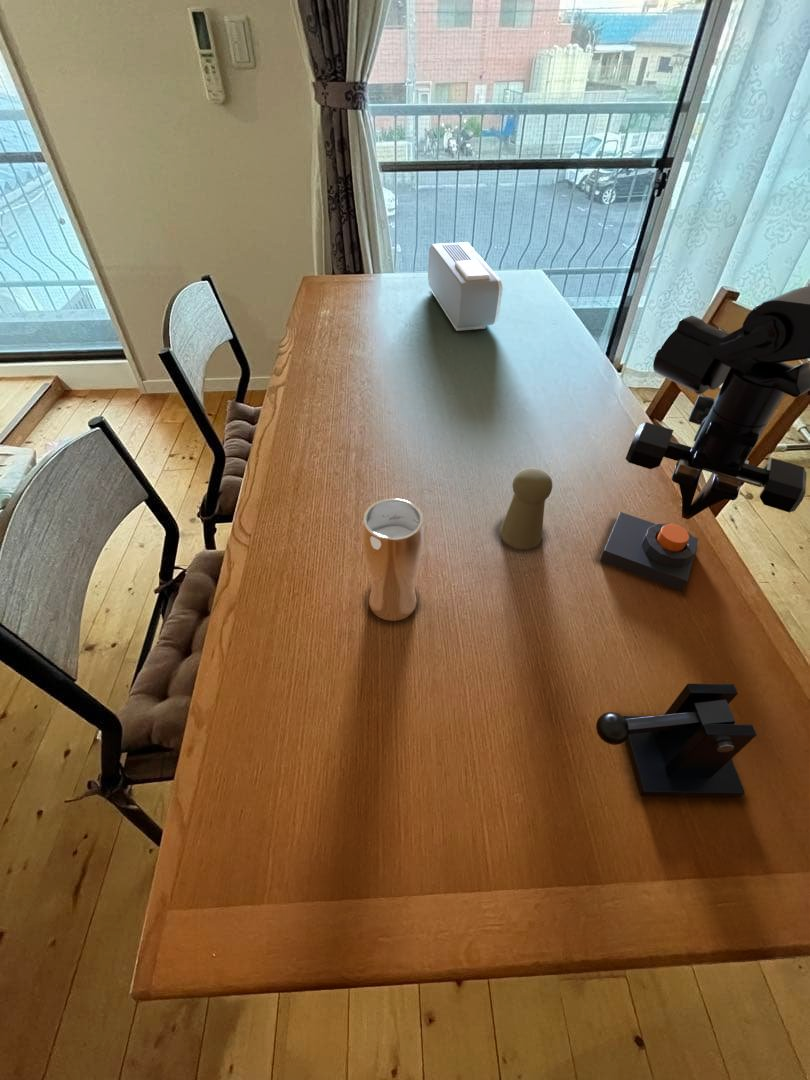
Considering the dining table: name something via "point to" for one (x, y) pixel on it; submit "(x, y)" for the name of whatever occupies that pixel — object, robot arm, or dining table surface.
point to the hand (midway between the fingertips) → (685, 516)
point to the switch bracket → (690, 751)
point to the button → (673, 537)
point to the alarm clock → (464, 285)
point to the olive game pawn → (526, 509)
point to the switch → (663, 721)
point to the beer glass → (393, 556)
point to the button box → (648, 552)
